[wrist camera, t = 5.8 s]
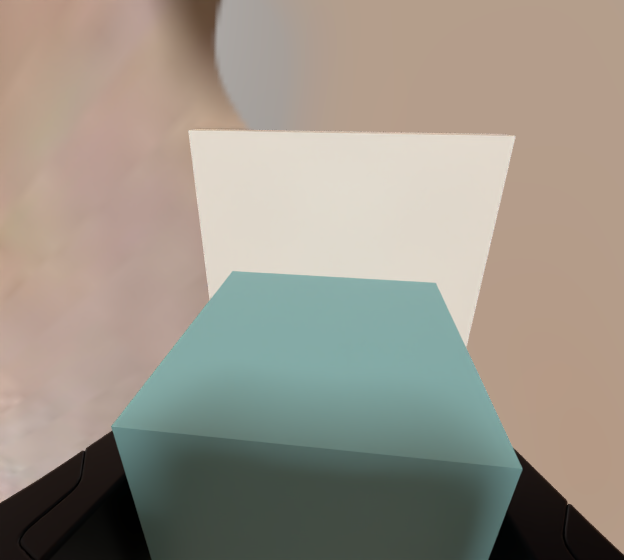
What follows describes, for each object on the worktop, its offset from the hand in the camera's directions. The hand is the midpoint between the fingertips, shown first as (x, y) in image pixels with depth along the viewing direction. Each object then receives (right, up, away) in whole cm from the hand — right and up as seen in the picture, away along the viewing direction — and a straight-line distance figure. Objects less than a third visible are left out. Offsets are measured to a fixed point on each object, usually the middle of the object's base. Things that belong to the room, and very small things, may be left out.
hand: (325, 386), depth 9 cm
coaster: (+1, +3, +6) cm, 7 cm away
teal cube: (0, 0, +1) cm, 1 cm away
